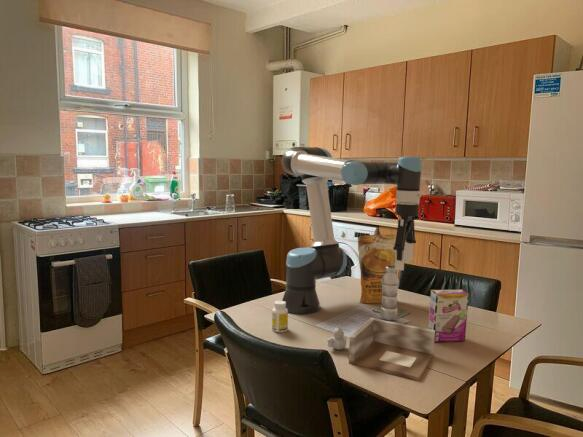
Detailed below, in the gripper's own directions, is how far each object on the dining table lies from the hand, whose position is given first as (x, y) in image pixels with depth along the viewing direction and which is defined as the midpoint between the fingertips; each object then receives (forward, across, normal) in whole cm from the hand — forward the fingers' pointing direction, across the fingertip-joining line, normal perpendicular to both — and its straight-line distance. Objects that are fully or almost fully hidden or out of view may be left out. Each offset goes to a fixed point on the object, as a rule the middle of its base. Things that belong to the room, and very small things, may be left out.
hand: (403, 265), depth 148 cm
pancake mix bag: (+24, +28, +16) cm, 40 cm away
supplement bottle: (+24, -20, +37) cm, 48 cm away
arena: (+23, -24, -3) cm, 33 cm away
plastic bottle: (+23, +8, +6) cm, 26 cm away
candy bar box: (+23, 0, -15) cm, 28 cm away
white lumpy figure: (+23, -25, +14) cm, 37 cm away
